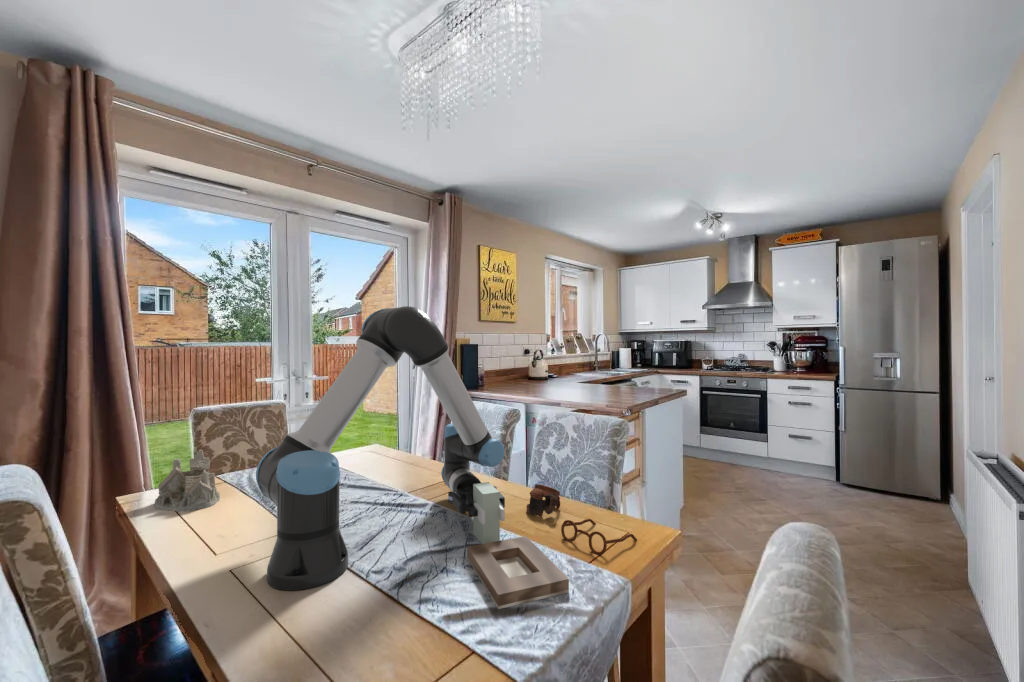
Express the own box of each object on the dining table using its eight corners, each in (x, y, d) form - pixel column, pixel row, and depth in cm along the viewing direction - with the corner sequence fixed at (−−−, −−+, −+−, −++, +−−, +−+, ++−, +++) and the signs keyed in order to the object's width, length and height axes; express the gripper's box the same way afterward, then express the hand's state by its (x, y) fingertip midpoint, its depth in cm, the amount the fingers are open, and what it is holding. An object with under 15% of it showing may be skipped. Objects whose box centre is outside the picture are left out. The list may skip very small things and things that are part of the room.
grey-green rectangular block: (483, 546, 102) (483, 494, 102) (473, 532, 109) (473, 484, 109) (499, 543, 103) (499, 492, 103) (488, 530, 111) (488, 482, 111)
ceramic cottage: (159, 499, 134) (160, 449, 133) (223, 492, 141) (225, 446, 140) (143, 520, 120) (145, 465, 119) (215, 512, 127) (217, 460, 127)
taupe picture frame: (498, 609, 78) (498, 594, 78) (467, 558, 96) (467, 546, 96) (568, 592, 83) (568, 578, 83) (526, 547, 101) (526, 536, 101)
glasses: (560, 539, 106) (560, 518, 106) (594, 525, 115) (594, 505, 115) (604, 559, 96) (604, 536, 96) (638, 542, 105) (638, 521, 105)
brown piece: (518, 511, 125) (526, 482, 128) (546, 522, 127) (553, 493, 131) (538, 514, 114) (547, 482, 118) (568, 526, 117) (576, 494, 120)
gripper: (494, 496, 126) (527, 527, 104) (435, 504, 120) (457, 539, 98) (494, 469, 126) (527, 495, 104) (435, 476, 120) (457, 505, 98)
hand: (493, 516), depth 101 cm, fingers closed on grey-green rectangular block, 4 cm apart
